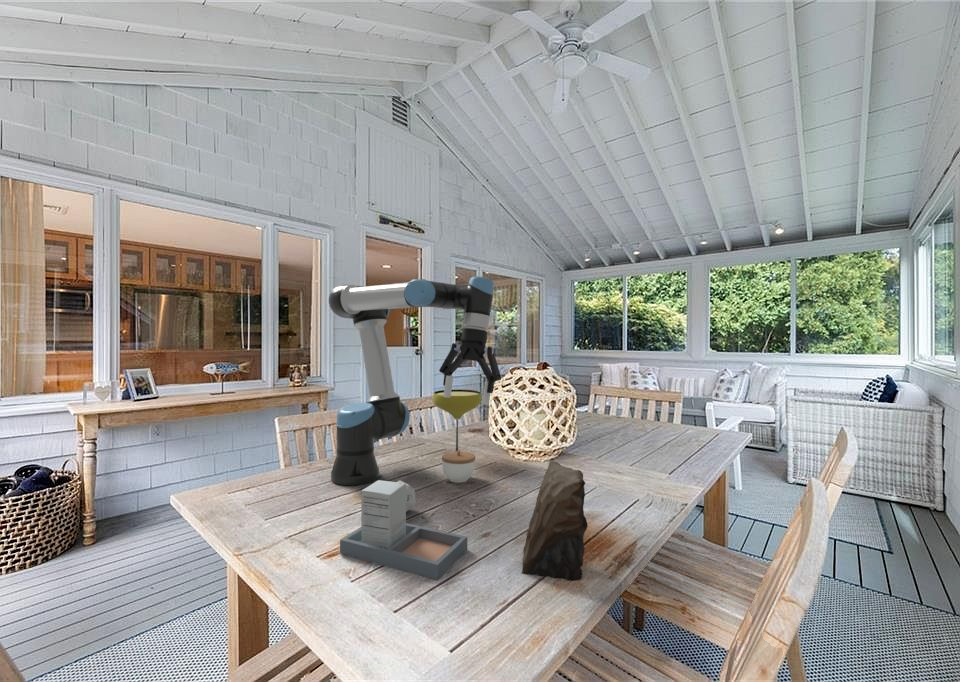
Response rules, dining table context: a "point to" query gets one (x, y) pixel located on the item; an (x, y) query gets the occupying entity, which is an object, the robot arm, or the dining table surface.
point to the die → (409, 496)
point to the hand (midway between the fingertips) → (465, 400)
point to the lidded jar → (458, 466)
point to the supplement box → (383, 513)
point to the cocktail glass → (457, 404)
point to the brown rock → (557, 526)
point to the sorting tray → (411, 551)
